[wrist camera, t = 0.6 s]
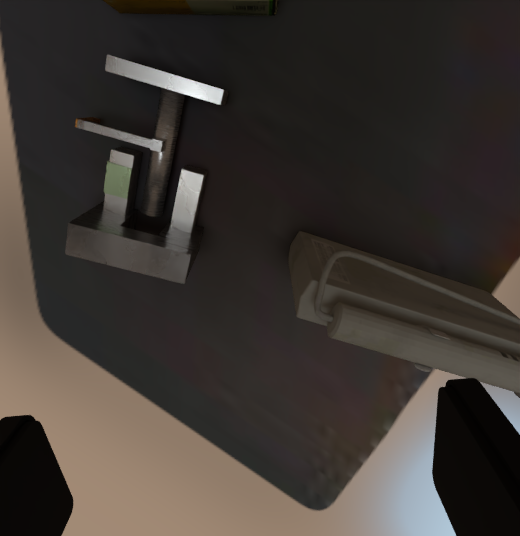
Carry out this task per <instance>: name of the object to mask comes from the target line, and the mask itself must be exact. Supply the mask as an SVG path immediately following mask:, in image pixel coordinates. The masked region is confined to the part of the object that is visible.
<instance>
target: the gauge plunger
mask: <svg viewBox="0 0 520 536" xmlns="http://www.w3.org/2000/svg"><path fill="white" fill-rule="evenodd" d="M105 71H108V72H111V73H115V74H118V75H121V76H125V77H128V78H132V79H135V80H138V81H142V82H145V83H148V84H152V85H155V86H158V87H161V93H160V99H159V105H158V111H157V117H156V123H155V129H154V135H153V138H152V139H151V138H147V137H144V136H140V135H137V134H133V133H130V132H126V131H123V130H119V129H116V128H112V127H109V126H105V125H102V124H100V119H97V118H94V117H88V118H76V125H75V127H77V128H81V129H84V130H88V131H91V132H95V133H98V134H102V135H105V136H109V137H112V138H116V139H120V140H123V141H127V142H130V143H134V144H137V145H141V146H144V147H148V148H150V150H151V153H150V159H149V165H148V171H147V177H146V183H145V189H144V195H143V201H142V207H141V212H142V213H143V214H145V215H148V216H153V217H161V216H162V214H163V209H164V204H165V198H166V193H167V188H168V182H169V177H170V172H171V167H172V161H173V156H174V151H175V146H176V140H177V135H178V130H179V124H180V119H181V114H182V109H183V103H184V98H185V95H188V96H192V97H195V98H198V99H202V100H205V101H209V102H212V103H215V104H219V105H226V102H227V98H228V93H229V91H226V90H223V89H219V88H216V87H213V86H209V85H206V84H203V83H199V82H196V81H193V80H190V79H186V78H183V77H180V76H176V75H173V74H170V73H166V72H163V71H160V70H156V69H153V68H150V67H147V66H143V65H140V64H137V63H133V62H130V61H127V60H123V59H120V58H117V57H114V56H110V55H107V60H106V69H105Z"/></svg>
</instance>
